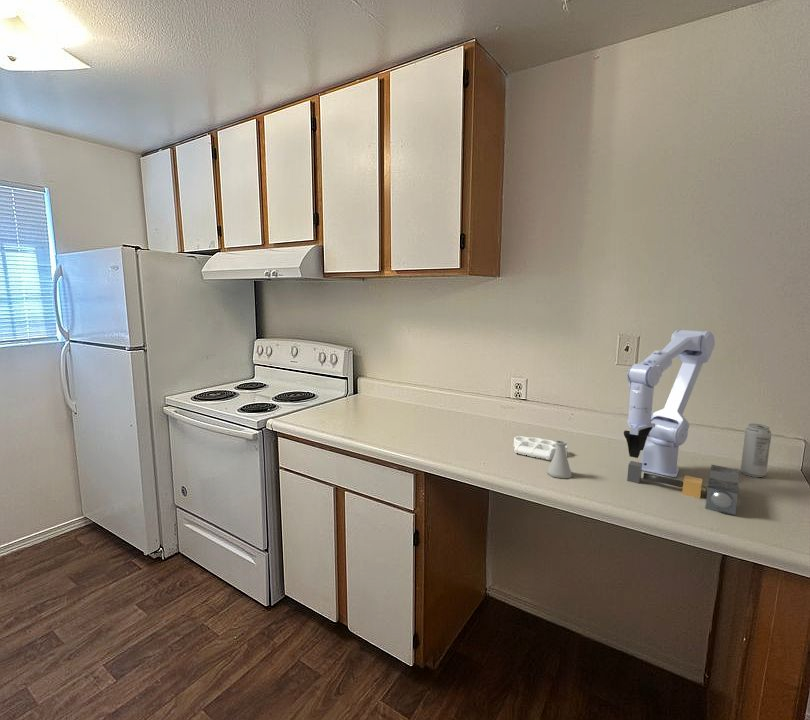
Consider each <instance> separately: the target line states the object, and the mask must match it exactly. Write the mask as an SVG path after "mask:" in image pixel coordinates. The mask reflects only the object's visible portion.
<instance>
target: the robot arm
mask: <svg viewBox="0 0 810 720" xmlns="http://www.w3.org/2000/svg"><path fill="white" fill-rule="evenodd" d="M715 345H716V343H715V336H714V334H713V332H712V331H710V330H707V331H704V330H703V331H702V330H689V329H688V330H687V329H681V328H679V329H676V330H675V331H674V332H673V333H672V334H671V338H670V341H669V342H668V343H667V345H666V346H665V347H664V348H662V349H661V350H656V349H655V350H654V351H653V352H652V353H651V354H650V355H649V356H647V357H646V358H645V359H644V360H642V361H641V362H640V363H634V364H633V365H631V366H630V367H629V368H628V370H627V373H626V380H627V382H628V389H629V391H630V392H629V401H628V402H629V405H628V416H627V419H626V424H627V426H628V427H629V430H624V431H623V435H624V438H625V440H626V443H627V449H628V455H629V457H630V458H635V459H638V458H639V456H640V454H641V459H640V463H642V472H643V471H644V472H646V473H651V474H655V475H656V474H657V475H660V476H665V477H669V478H671V477H672V478H677V476H678V474H679V471H680V468H679V467H678V460H679V458H678V457H679V449H680V446H682V445H684V443H686V441H687V438H688V435H689V429H690V424H689V421H688V420H687V418H686V417H685V416H684V412H685V409H686V407H687V405H688V403H689V399H690V398H691V397H690V396H691V394H692V392H693V390H694V387H695V385H696V382H697V380H698V377H699V375H700V372H701V370H702V367H703V365H704V364H706V363H707V362H709V360H710V357H711V356H712V353H713V350H714V348H715ZM675 358H676V359H678V360H680V361H681V364H680V365H681V366H680V368H679V370H678V373H677V375H676V377H675V380H674V383H673V385H672V387H671V390H670V393H669V395H668V398H667V400H666V402H665V405H664V407H663V408H662V409H661V408H660V409H659V410H656V411H654V412H652V411H653V402H654V390H655V386H657V385H658V384H659V382H660V379H661V377H662V375H663V373H664V372H665V371H666V370H668V369H669V368H670V367H671V365H673V359H675ZM652 413H653V414H652Z"/></svg>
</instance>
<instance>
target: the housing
mask: <svg viewBox="0 0 810 720" xmlns="http://www.w3.org/2000/svg"><path fill="white" fill-rule="evenodd" d="M739 472H740V471H739V469H737V468H736V469H735V468H731V467H727V466H722V465H716V464H711V467H710V472H709V478H708V483H707V489H706V490H707V493H706V500H705V501H706V502H705V509H707V510H712V511H715V512H719V513H724V514H727V515H731V516H736V512H737V504H738V495H739V483H740V482H739Z"/></svg>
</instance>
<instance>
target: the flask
mask: <svg viewBox="0 0 810 720" xmlns="http://www.w3.org/2000/svg"><path fill="white" fill-rule="evenodd" d="M555 442H556V444H557V446H556V451H555V454H554V457H553V458H552V459H551V460H550V464H549V465H548V468H547V471H546V474H547V473H548V474H547V475H548V476H550V477H551V478H556V479H568V478H569V479H570V478H573V477H572V476H573V474H572V470H571V468H570V467H571V466H570V464H569V461H568V457H567V456H568V455H567V456H566V450H565V447H566V446H568V442H567V441H565V440H561V439H560V440H555Z"/></svg>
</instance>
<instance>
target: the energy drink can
mask: <svg viewBox="0 0 810 720" xmlns="http://www.w3.org/2000/svg"><path fill="white" fill-rule="evenodd" d="M743 439H744V440H743V448H742V455H741V456H742V457H741V464H740V470H741V471H742V474H743V475H746V476H748V477H751V476H752V477H751V478H756V477H762V478H764V476H766V475H767V470H768V462H769V455H770V450H771V449H770V448H771V439H772V431H771V430H770V426H769V425H765V424H761V423H749V424H748V426H747V427H746V428H745V432H744V438H743Z"/></svg>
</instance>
